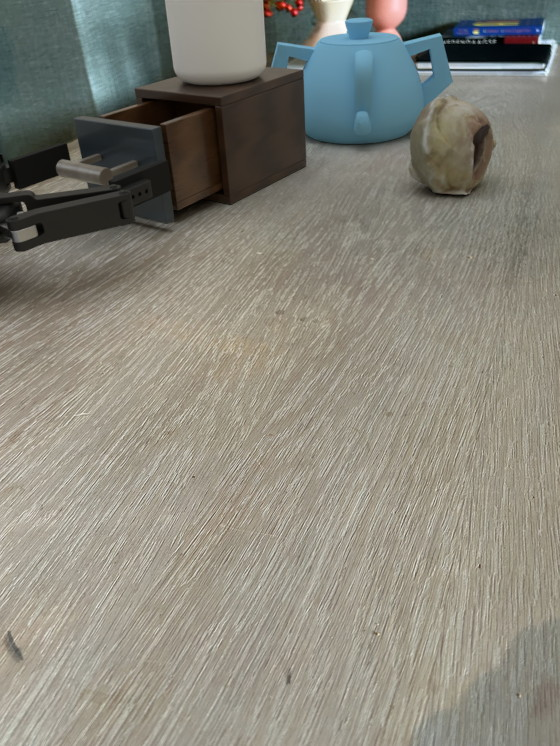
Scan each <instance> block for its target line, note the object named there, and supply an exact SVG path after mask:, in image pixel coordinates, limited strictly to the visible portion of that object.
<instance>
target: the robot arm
mask: <svg viewBox="0 0 560 746" xmlns="http://www.w3.org/2000/svg"><path fill="white" fill-rule="evenodd" d="M62 159H64V160H69V161H72V159H71V155H70V151H69V146H68V143H67V142H59V143H56V144H53V145H49V146H47V147H44V148H40V149H37V150H34V151H31V152H28V153H24V154H22V155H19V156H16V157H12V158H10V159H7V163H6V161H5V158H4V154H3V153H1V152H0V245H1V244H7V243H9V242H10V241H11V243H12V246H13V247H12V248H13V251H14V252H16V253H24V252H27V251H29V250H32V249H35V248H36V247H40V246H42V245H45V244H49V243H53V242H58V241H61V240H66V239H70V238H74V237H79V236H84V235H88V234H92V233H95V232H100V231H105V230H108V229H112V228H117V227H124V226H126V225H131V224H133V223H135V222H136V219H137V218H136V217H135V213H134V208H133V207H136V206H138V205H140V204H142V203H144V202H147V201H149V200H151V199H153V198H156V197H158V196H160V195H162V194H165V193H167V192H169V191H171V190H172V187H171V180H170V173H169V166H168V160H159V161H156V162H154V163H151V164H149V165H146V166H144V167H141V168H139V169H136V170H134V171H131V172H129V173H126V174H124V175H121V176H119V177H116V178H114V179H111V180H109V181H108V183H109V185H108V186H101V187H93V188H88V187H86V188H80V189H71V190H64V191H55V192H48V193H41V194H37V193H35V192H34V191H32V190H30V189H26V188H29V187H32V186H34V185H37V184H40V183H43V182H45V181H48V180H50V179H54V178H56V177H60V176H59V175H58V174H57V171H56V165H57V163H58V161H60V160H62ZM12 183H13V186H14V189H16V190H17V191H11V189H12V188H13V186H12ZM22 203H23V204H24V205H25V209H26V211H24V207H23V204H22Z"/></svg>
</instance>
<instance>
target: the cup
mask: <svg viewBox="0 0 560 746" xmlns="http://www.w3.org/2000/svg"><path fill="white" fill-rule="evenodd" d="M164 5H165V11H166V12H165V13H166V20H167V29H168V36H169V43H170V44H169V45H170V51H171V52H170V53H171V58H172V67H173V71H174V73H175V76H176V77H178V78H179V79H181V80H182V81H184V82H186V83H189V84H195V85H228V84H236V83H241V82H246V81H249V80H252V79H255V78H257V77H258V76H260V75H261V74H262V73H263V71H264V70H265V68H266V67H267V46H266V45H267V43H266V28H265V26H266V25H265V10H264V0H164Z"/></svg>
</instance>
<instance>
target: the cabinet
mask: <svg viewBox="0 0 560 746" xmlns="http://www.w3.org/2000/svg"><path fill="white" fill-rule="evenodd" d="M134 96H135V102H136V104H139V103H142V102H146V101H149V100H152V99H158V100H167V101H176V102H185V103H194V104H203V105H212V106H215V112H216V122H217V132H218V142H219V152H220V162H221V172H222V182H223V189H221V190H219V191H217V192H215V193H213V194H211V195H209V196H207V197H205V198H203V199H202V200H206V201H207V200H208V201H212V202H217V203H221V204H227V205H233V204H235V203H237V202H239V201H241V200H243V199H244V198H246V197H248V196H251V195H253V194H255V193H256V192H258V191H261V190H262V189H264V188H266V187H268V186H270V185H272V184H274V183H276V182H277V181H280V180H281V179H283V178H285V177H288V176H290V175H291V174H294V173H295V172H297V171H299V170H301V169H303V168H305V167H307V140H306V133H305V103H304V72H303V68H288V67H287V68H275V67H271V66H266V68H265V70H264V71H263V73H262V74H261V75H260V76H258V77H257V78H255V79H252V80H249V81H246V82H241V83H236V84H228V85H195V84H189V83H186V82H184V81H182V80H181V79H179V78H178V77H177V76H174V77H170V78H167V79H163V80H159V81H155V82H153V83H149V84H145V85H142V86H137V87H135V88H134Z"/></svg>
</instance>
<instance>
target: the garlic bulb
mask: <svg viewBox="0 0 560 746" xmlns="http://www.w3.org/2000/svg"><path fill="white" fill-rule="evenodd" d="M409 136H410V138H409V152H410V161H409V166H408V171H409V172H408V173H409V176H410V177H411V178H412V179H414V180H416V181H418V182H420V183H421V184H423V185H424V186H426V187H428V188H429V189H430V190H431V191H432V193H435V194H436V193H437V194H446V195H465V196H466V195H470V194H472V193H471V192H472V191H473V190H474V189H475V188H477V187H478V185H479V184H480V182H481V181H482V180H483V178H484V177H485V175H486V173H487V170H488V167H489V164H490V162H491V159H492V156H493V151H494V149H495V148H496V147H497V144H498V143H497V140H495V139H494V133H493V128H492V125H491V122H490V120H489V118H488V117H487V115H486V114H485V113H484V112H483V110H481V109H480V108H479V107H477V106H475V105H473V104H471V103H470V102H468V101H464V100H460V99H459V98H458V97H457V96H456V95H451V94H448V93H446V94H445V96H444V97H442V96H437V97H436V98H435V99H434V100H433V101H431V102H430V103H428V104H427V105H426V106H425V107H424V108H423V110H422V111H421V113H420V115H419V116H418V118H417V120H416V122H415V124H414V126H413V128H412V129H411V130H410V135H409Z"/></svg>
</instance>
